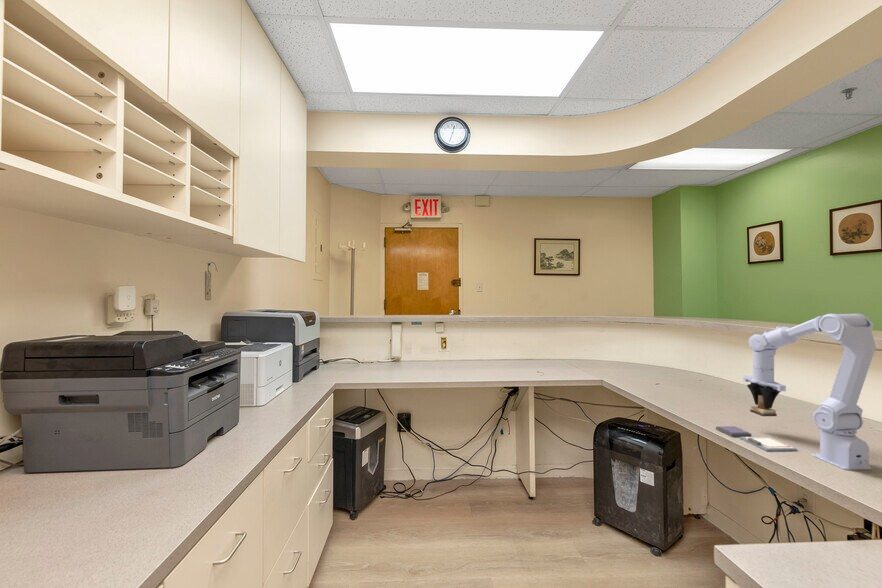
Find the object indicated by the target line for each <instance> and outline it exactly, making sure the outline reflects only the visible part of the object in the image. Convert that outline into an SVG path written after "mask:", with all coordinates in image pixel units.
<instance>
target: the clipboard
mask: <svg viewBox="0 0 882 588" xmlns="http://www.w3.org/2000/svg"><path fill="white" fill-rule="evenodd" d="M739 439H740V440H742V441H744V442H746V443H748V444H750V445H753V446H754V447H756V448H759V449H761V450H762V451H765V452H798V448H796V447H794V446H791V445H789V444H786V443H785V442H782V441H780V440H777V439H775V438H773V437H771V436H767V435H765V436H763V435H762V436H751V437H739Z"/></svg>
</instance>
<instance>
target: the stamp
mask: <svg viewBox="0 0 882 588" xmlns="http://www.w3.org/2000/svg"><path fill="white" fill-rule="evenodd" d="M749 412H750V413H753V414H756V415H758V416H761V417H777V416H778V415H777V413H776V412H777V410H775V409H773V408H764V402H763V395H758V405H754V406H753V405H751V409H750V410H749Z"/></svg>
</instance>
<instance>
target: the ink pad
mask: <svg viewBox="0 0 882 588" xmlns="http://www.w3.org/2000/svg"><path fill="white" fill-rule="evenodd" d="M715 430H717V431H719V432H721V433H723V434H725V435H727V436H729V437H732V438H740V437H752V433H751V432H748V431H747V430H743V429H742V428H740V427H737V426H734V425H732V426H728V425H727V426H723V425H722V426H716V427H715Z"/></svg>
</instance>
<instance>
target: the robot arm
mask: <svg viewBox="0 0 882 588" xmlns="http://www.w3.org/2000/svg"><path fill="white" fill-rule="evenodd" d="M874 326H875V325H874V322H871V320H870V318H869V319H868V318H867V316H866V315H863V314H861V313H827V314H824V315H820V316H819V315H818V316H816V317H815V318H813V319H809V320H807V321H804V322H802V323H800V324H797V325H795V326H792V327H789V326H782V325H778V326H776V327H775V329H773V330H770V331H769V330H765V331H763V333H762V334H753V335H751V336H750V337H749V339H748V345H749V348H750V349H752V376H751V375H750V376H749V375H743V376H742V377H743V379H742V380H743V382H746V383H747V382H748V383H750V384H748V383H747V385H746V386H747V388H748V389H749V391H750V393H751V395H752V398H753V401H754V404H755V405H754V406H758V395H763V402H764V408H770V409H773V405H774V403H775V400H776V398H777V396H778V395H779V394H780V393H781V392H786V391H787V390H786V389H787V387H786V386H787V385H784V384H782V383H779V382H776V381H775V355H776V354H777V352H776V351H777V350H778V349H779V348H781V347H783V346H787V345H790V344H794V343H796V342H797V340H798V338H799V337H803V336H806V335H807V336H808V335H810V334H814V333H818V332H823V333H824V334H825V335H827V336H828V337H829V338H831V339H832V340H834V341H836V343H838V344H840V345H841V347H843V349H844V350H843V353H842V356H841V360H840V363H839V365H838V369H837V372H836V375H835V379H834V382H833V384H832V387H831V391H830V393H829V397H828V398H826V399H825V400H823V401H822V402H820V404H819V407H818V408H817V409H816V410H815V411H814V412H813V414H812V421H813V422H814V424H815V426H817V429H818V430H819V453H811V456H812V457H814V458H817V459H819V460H821V461H824V462H825V463H829V464H830V465H833V466H835V467H837V468H840V469H842V470H845V471H846V470H847V471H852V470H853V471H854V470H855V471H857V470H858V471H859V470H861V471H862V470H872V467H870V465H869V460H870V459H869V458H870V456H869V455H870V452H869V451H870V450H869V445H868V443H867V442H866V441H865V440H863V439H861V438H860V437H858V436H857V434H858V430H860V429H861V428H863V424H864V420H863V415H862V414H863V411H864V410H863V409H862V408H861V407H860V406H859V405H858V401H859V398H860V395H861V392H862V389H863V387H864V384H865V381H866V378H867V374H868V372H869V369H870V365H871V362H872V360H873V357H874V355H875V352H876V343H875V339H874V335H873V330H874Z"/></svg>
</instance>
